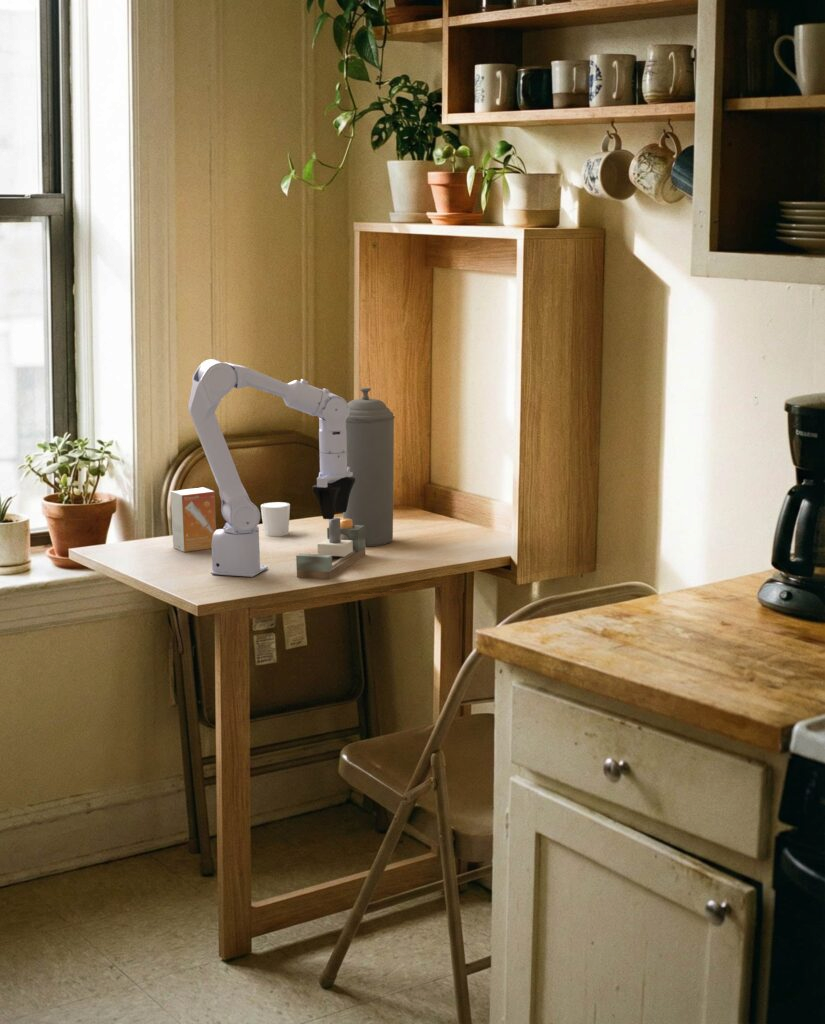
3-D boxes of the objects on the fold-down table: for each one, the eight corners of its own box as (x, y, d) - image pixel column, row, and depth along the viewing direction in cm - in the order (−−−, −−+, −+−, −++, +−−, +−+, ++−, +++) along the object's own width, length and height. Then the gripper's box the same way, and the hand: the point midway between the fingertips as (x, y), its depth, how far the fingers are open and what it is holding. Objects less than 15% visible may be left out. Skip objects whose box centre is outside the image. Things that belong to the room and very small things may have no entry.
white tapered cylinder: (275, 529, 322) (274, 500, 320) (297, 532, 318) (296, 503, 316) (255, 534, 316) (254, 505, 315) (277, 538, 312) (276, 508, 311)
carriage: (317, 554, 285) (316, 520, 284) (326, 549, 290) (325, 515, 289) (344, 556, 284) (343, 522, 282) (352, 551, 288) (351, 517, 287)
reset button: (337, 534, 292) (337, 520, 291) (342, 531, 294) (342, 518, 294) (350, 535, 291) (349, 521, 290) (354, 532, 294) (354, 518, 293)
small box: (184, 552, 299) (181, 495, 296) (172, 547, 304) (169, 490, 302) (217, 547, 303) (215, 490, 301) (205, 542, 309) (203, 486, 306)
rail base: (296, 576, 276) (295, 545, 275) (335, 552, 297) (334, 523, 295) (328, 579, 274) (328, 547, 273) (365, 554, 295) (364, 525, 293)
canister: (376, 550, 298) (373, 392, 291) (329, 544, 305) (325, 389, 298) (407, 539, 309) (405, 386, 302) (361, 533, 316) (357, 383, 308)
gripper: (339, 457, 275) (340, 523, 277) (362, 446, 288) (364, 509, 291) (306, 456, 277) (308, 521, 279) (331, 445, 290) (333, 508, 293)
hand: (334, 515), depth 285 cm, fingers open, 7 cm apart
